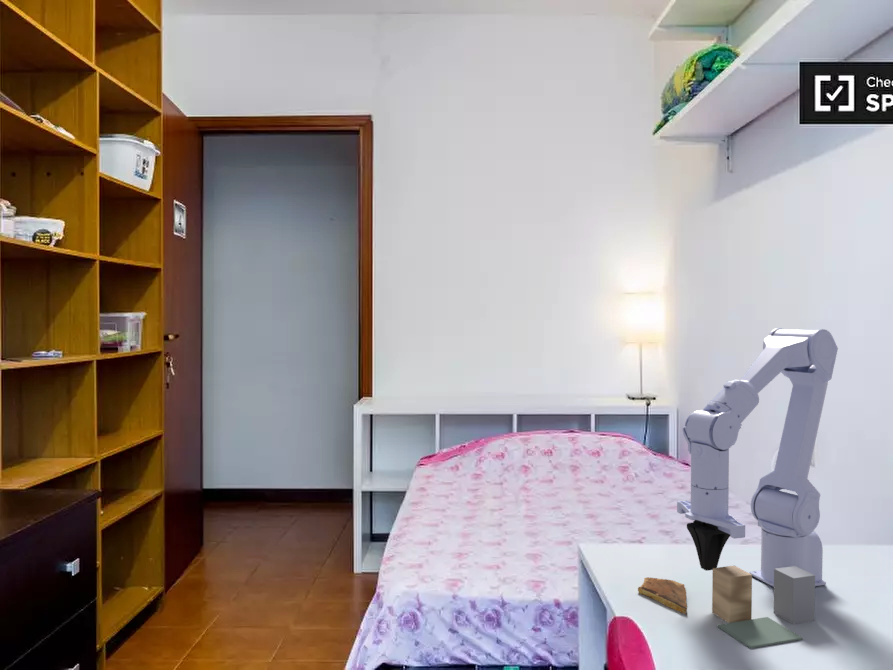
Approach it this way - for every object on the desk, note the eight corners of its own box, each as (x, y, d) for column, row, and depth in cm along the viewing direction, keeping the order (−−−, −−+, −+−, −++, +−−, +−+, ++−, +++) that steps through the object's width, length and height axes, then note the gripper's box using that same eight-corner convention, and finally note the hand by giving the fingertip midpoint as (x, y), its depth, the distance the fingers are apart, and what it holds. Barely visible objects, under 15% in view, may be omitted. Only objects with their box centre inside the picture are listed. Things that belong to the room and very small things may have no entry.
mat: (767, 618, 107) (767, 616, 107) (802, 639, 100) (802, 637, 100) (717, 626, 104) (717, 624, 104) (750, 648, 97) (750, 646, 97)
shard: (687, 618, 108) (687, 607, 108) (635, 611, 111) (636, 600, 110) (685, 591, 119) (685, 581, 118) (639, 585, 121) (639, 575, 121)
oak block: (733, 609, 110) (734, 565, 110) (751, 619, 107) (752, 574, 106) (712, 612, 109) (712, 568, 109) (729, 623, 105) (729, 577, 105)
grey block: (794, 609, 110) (795, 566, 110) (814, 620, 106) (815, 575, 106) (773, 613, 109) (774, 568, 109) (793, 624, 105) (793, 578, 105)
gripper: (661, 476, 118) (661, 555, 119) (717, 499, 104) (717, 588, 105) (697, 473, 120) (696, 551, 121) (757, 495, 106) (756, 583, 107)
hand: (708, 568), depth 113 cm, fingers closed
